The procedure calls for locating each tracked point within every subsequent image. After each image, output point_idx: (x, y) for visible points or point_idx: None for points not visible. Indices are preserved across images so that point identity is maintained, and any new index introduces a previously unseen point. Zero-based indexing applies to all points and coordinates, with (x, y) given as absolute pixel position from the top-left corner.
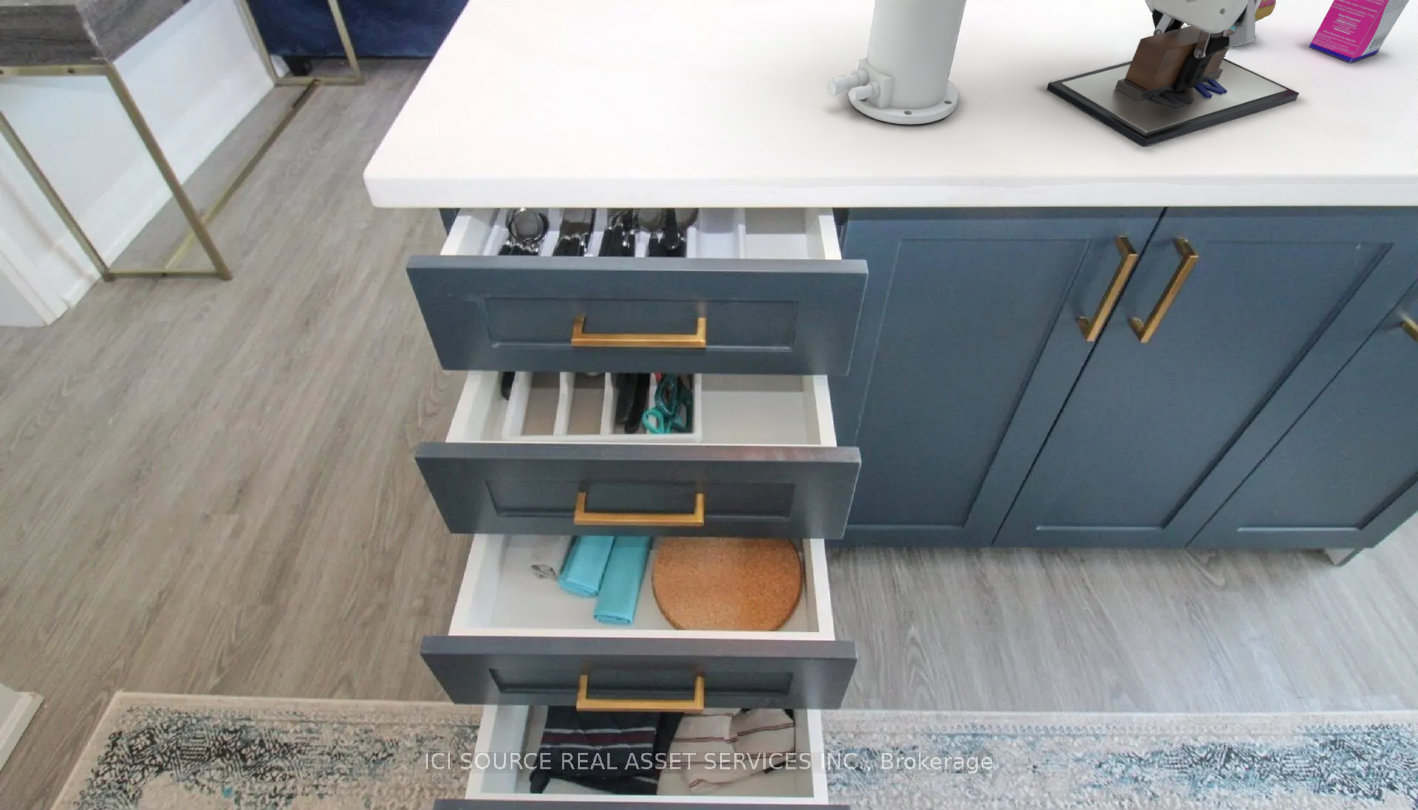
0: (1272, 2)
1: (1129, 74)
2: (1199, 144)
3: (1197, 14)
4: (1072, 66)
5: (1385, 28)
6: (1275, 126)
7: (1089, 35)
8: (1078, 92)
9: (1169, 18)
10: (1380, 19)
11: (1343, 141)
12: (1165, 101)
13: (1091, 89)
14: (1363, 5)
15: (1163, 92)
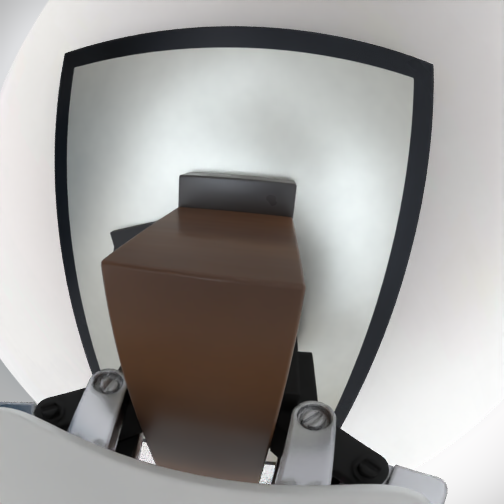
0: None
1: (280, 221)
2: (36, 178)
3: (58, 486)
4: (462, 249)
5: None
6: (58, 345)
7: (473, 380)
8: (340, 59)
9: (291, 478)
10: None
11: (26, 361)
12: (137, 227)
13: (333, 107)
14: None
15: None
